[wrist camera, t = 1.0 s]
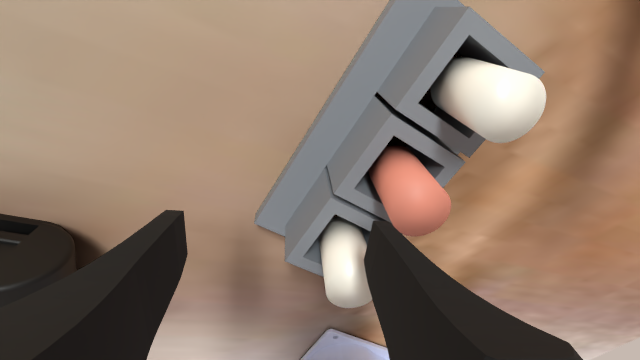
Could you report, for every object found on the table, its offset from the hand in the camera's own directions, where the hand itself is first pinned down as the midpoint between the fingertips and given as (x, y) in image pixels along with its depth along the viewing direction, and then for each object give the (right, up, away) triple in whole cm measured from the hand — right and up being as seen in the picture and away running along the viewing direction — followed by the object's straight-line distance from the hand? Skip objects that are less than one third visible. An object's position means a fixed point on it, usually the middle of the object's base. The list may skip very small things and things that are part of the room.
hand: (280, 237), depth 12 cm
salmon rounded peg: (+6, +3, +6) cm, 9 cm away
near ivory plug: (+9, +7, +4) cm, 12 cm away
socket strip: (+5, +5, +9) cm, 12 cm away
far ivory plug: (+3, -1, +8) cm, 9 cm away
